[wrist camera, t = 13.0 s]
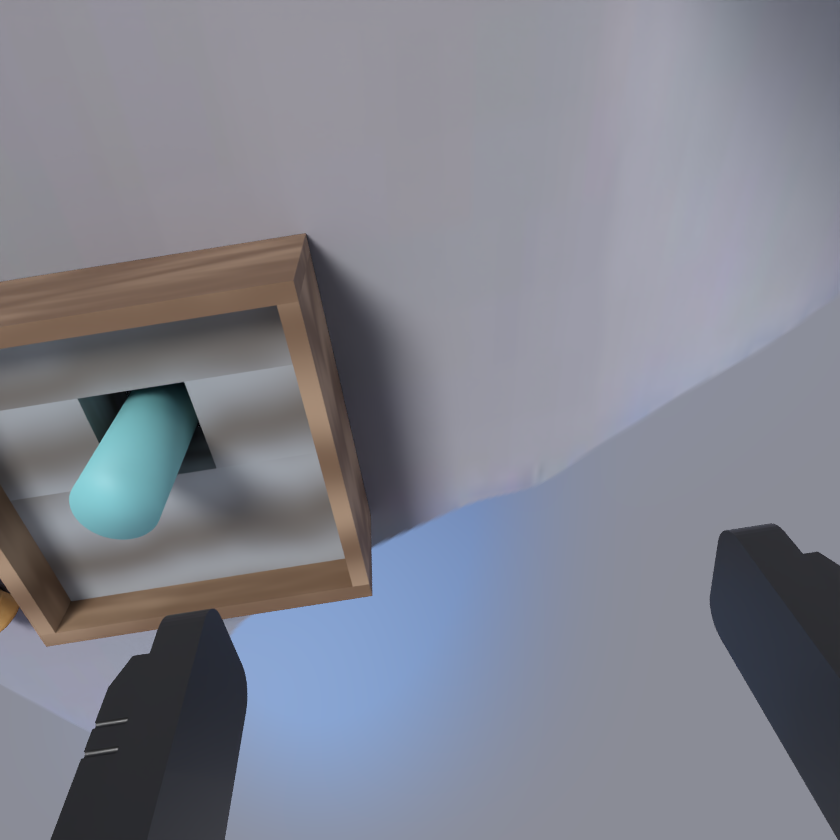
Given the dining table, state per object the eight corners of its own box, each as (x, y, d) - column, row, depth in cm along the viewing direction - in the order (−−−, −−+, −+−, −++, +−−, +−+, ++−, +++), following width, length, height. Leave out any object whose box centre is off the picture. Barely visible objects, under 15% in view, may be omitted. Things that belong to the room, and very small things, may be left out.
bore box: (-60, 291, 35) (-153, 351, 29) (305, 233, 35) (293, 280, 28) (90, 559, 45) (46, 646, 39) (370, 515, 45) (372, 595, 39)
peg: (128, 367, 38) (54, 479, 29) (194, 356, 38) (142, 465, 29) (152, 423, 40) (90, 545, 31) (215, 413, 40) (173, 532, 31)
